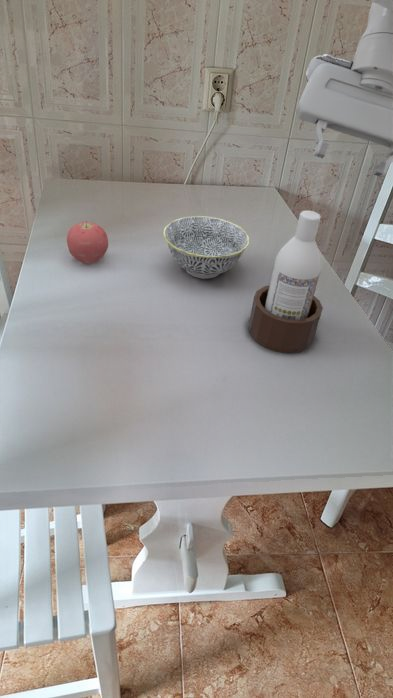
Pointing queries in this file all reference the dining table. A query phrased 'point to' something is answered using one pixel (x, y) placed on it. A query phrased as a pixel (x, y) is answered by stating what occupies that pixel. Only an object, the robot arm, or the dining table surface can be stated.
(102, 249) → the apple
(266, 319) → the cup
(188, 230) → the bowl
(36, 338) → the dining table surface
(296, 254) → the bath foam
